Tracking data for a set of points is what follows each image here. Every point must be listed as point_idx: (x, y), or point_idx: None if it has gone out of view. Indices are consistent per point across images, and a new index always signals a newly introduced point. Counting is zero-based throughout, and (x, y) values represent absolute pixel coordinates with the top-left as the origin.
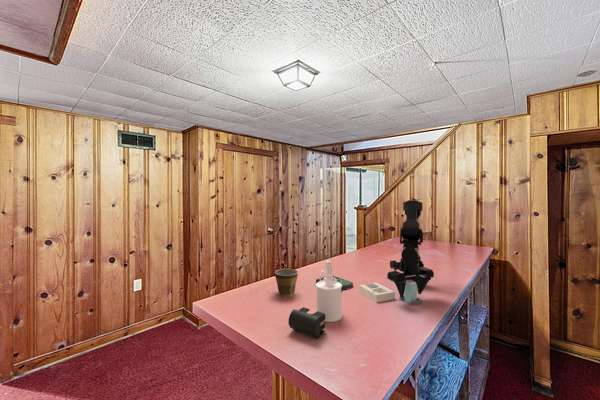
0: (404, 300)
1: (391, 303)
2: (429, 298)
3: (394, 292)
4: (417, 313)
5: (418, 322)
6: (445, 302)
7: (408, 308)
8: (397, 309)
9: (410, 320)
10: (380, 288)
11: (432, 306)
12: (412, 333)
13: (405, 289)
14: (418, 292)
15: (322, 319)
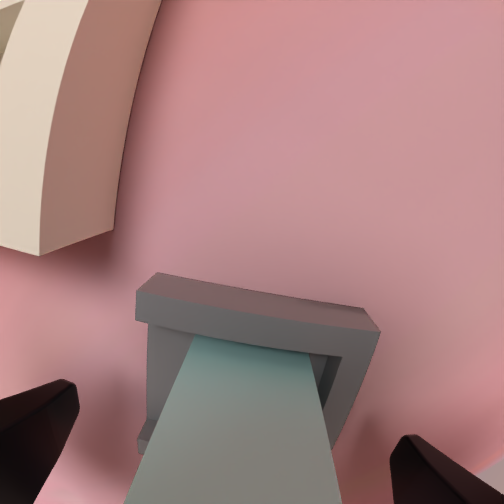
0: (187, 338)
1: (34, 270)
2: (485, 387)
3: (41, 253)
4: (120, 484)
5: (63, 498)
6: (467, 466)
7: (110, 427)
8: (23, 377)
9: None
10: (21, 5)
11: None
12: None
13: (144, 469)
14: (407, 450)
15: None
